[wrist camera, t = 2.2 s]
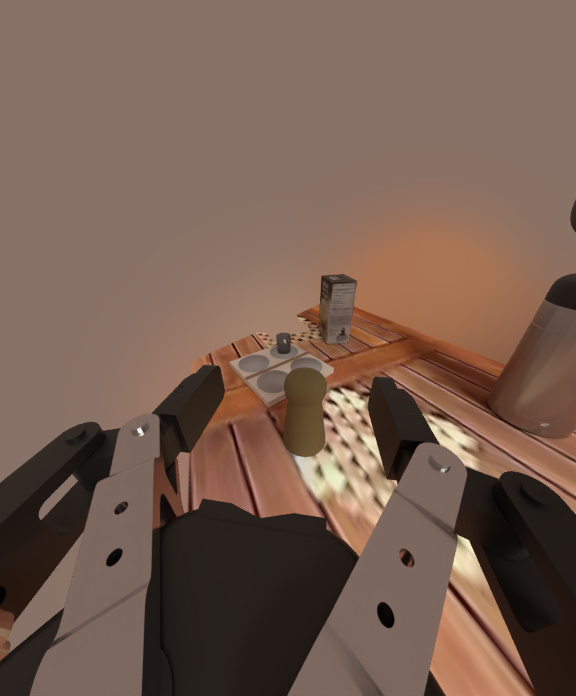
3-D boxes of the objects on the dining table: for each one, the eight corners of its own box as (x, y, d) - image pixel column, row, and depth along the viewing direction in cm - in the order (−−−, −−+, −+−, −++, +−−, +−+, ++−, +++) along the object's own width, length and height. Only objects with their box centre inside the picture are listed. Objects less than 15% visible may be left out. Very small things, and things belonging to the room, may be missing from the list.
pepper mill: (274, 433, 30) (269, 371, 25) (306, 414, 33) (308, 355, 28) (300, 466, 26) (301, 399, 20) (334, 441, 29) (342, 377, 23)
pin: (285, 346, 51) (284, 331, 49) (293, 351, 48) (293, 336, 46) (274, 350, 49) (273, 335, 47) (282, 355, 47) (281, 340, 45)
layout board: (287, 345, 54) (287, 340, 54) (333, 372, 43) (334, 367, 42) (230, 366, 46) (229, 361, 45) (268, 407, 35) (267, 401, 34)
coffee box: (317, 330, 62) (320, 275, 54) (338, 329, 62) (343, 273, 55) (326, 345, 54) (331, 281, 46) (350, 343, 54) (358, 280, 47)
